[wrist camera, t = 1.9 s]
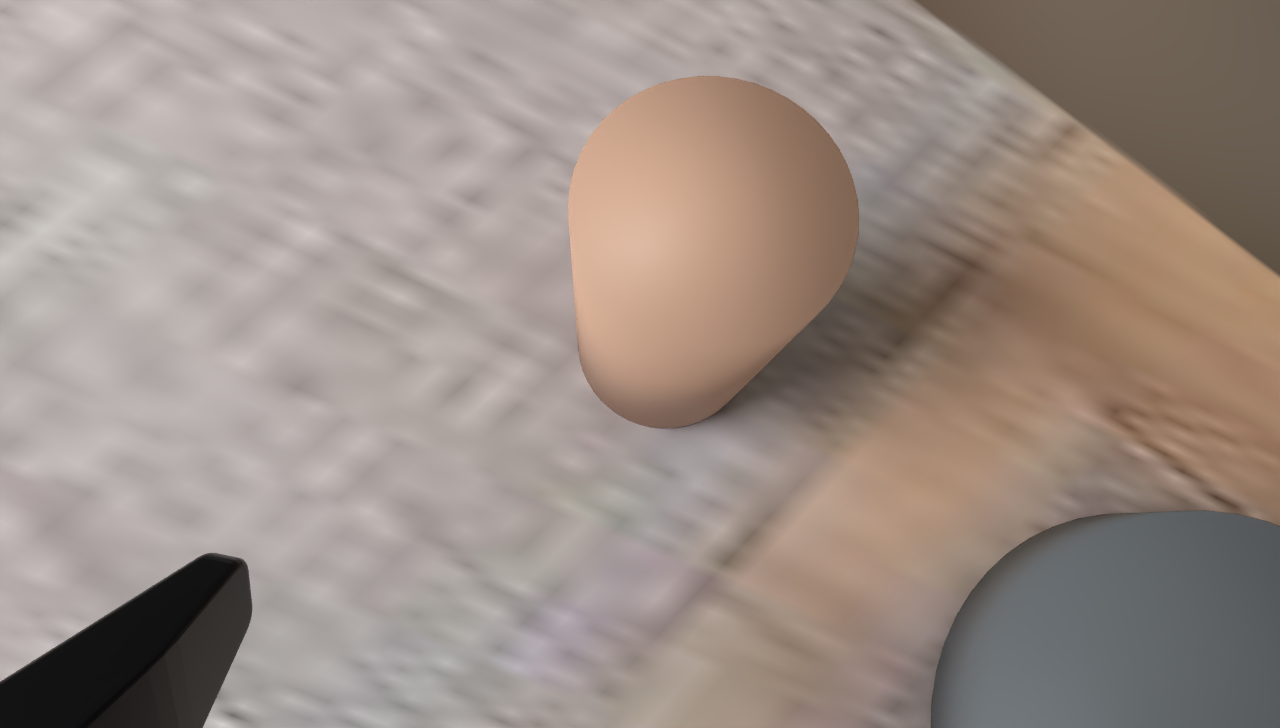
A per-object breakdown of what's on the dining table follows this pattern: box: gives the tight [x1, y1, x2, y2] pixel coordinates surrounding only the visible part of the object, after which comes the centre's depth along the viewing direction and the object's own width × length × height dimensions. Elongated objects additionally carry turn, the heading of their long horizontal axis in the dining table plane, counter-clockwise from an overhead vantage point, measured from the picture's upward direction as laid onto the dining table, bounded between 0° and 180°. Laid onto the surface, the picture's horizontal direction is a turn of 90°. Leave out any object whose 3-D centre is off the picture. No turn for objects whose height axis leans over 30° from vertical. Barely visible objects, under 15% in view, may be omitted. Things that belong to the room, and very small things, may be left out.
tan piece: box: [568, 76, 859, 428], centre depth 19 cm, size 5×5×10 cm
